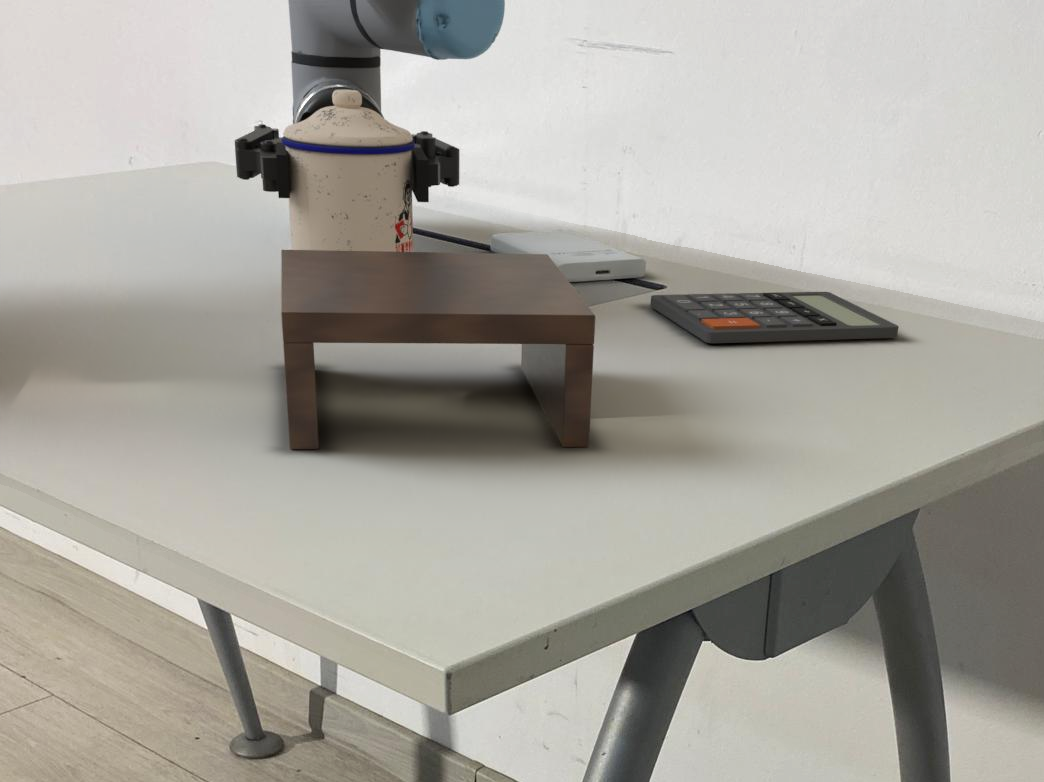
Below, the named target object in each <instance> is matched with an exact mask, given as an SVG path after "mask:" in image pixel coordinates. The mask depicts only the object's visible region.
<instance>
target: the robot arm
mask: <svg viewBox="0 0 1044 782" xmlns="http://www.w3.org/2000/svg"><path fill="white" fill-rule="evenodd" d="M505 2H506V1H505V0H287V3H288V15H289V27H290V41H291V51H290V52H291V62H290V63H291V64H290V65H291V83H292V84H291V86H292V124H295V123H299V122H301V121H303V120H306V119H307V118H309V117H310V116H311V115H313V114H314V113H315V112H316V111H318V110H319V109H321V108H324V107H329V106H335V105H334V104H333V102H332V94H333V92H334V91H335V90H356V91H359V92H360V94H361V96H362V104H361V106H360V107H364V108H368V109H371V110H373V111H375V112H377V113H378V114H379V115H381V116H382V117H383V118H384V119H385V116H384V115H383V113H382V87H381V85H382V84H381V83H382V82H381V79H382V78H381V65H382V62H381V58H382V57H381V50H385V51H393V52H397V53H404V54H410V55H414V56H415V55H416V56H421V57H427V58H431V59H433V60H437V61H439V60H440V61H441V60H442V61H444V60H470V59H471V60H472V59H475V58H478V57H479V56H481V55H483V54H485V52H487V51H488V50H489V49H490V48H491V47H492V45H493V43H495V41H496V39H497V37H498V35H499V34H500V31H501V28H502V27H503V22H504V17H505V10H506V9H505V8H506V3H505ZM253 129H254V130H252V131H250V132H249V133H246V134H245V135H242V136H240V137H238V138H237V139H234V152H235V167H236V169H235V170H236V178H238V179H241V180H244V181H245V180H247V181H248V180H250V179H253V178H255V177H258V176H259V175H260V176H261V177H260V179H261V180H262V191H264V192H267V193H276V192H277V193H278V195H277V196H278V199H289V198H290V189H289V170H288V151H287V150H286V145H284V144H283V143H282V137H283V136H280V133H279V132H280V130H279V128H273V127H271V126H268V125H266V124H264V123H260V124H258V125H254V126H253ZM410 134H411V135H412V138H413V140H412V141H413V142H414V144H415V147H414V148H413V149H412V150H411V160H412V194H413V195H414V198H415V200H416V201H417V203H429V202H430V200H429V199H430V198H429V196H430V195H429V194H430V192H429V191H430V189H429V188H432V187H434V186H441V184H443V185H446V186H447V187H449V188H450V187H451V188H453V187H457V186H460V148H458V147H456V146H453V145H452V144H449V143H447V142H445V141H443V140H440V139H438V138H437V137H433V133H432V132H428V131H426V130H422V131H420V132H417V133H410Z"/></svg>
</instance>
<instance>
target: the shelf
mask: <svg viewBox="0 0 1044 782" xmlns="http://www.w3.org/2000/svg"><path fill="white" fill-rule="evenodd" d="M280 254H281V256H280V258H281V259H280V260H281V261H280V262H281V263H280V264H281V265H280V266H281V267H280V268H281V269H280V270H281V271H280V272H281V275H280V276H281V277H280V278H281V279H280V285H281V287H280V288H281V293H280V294H281V295H280V297H281V298H280V299H281V303H280V304H281V305H280V306H281V310H280V311H281V313H280V314H281V325H282V326H281V330H282V345H283V360H284V361H283V362H284V377H285V394H286V411H287V424H288V426H287V427H288V440H289V441H288V442H289V449H290V450H319V448H320V443H319V442H320V441H319V423H318V422H319V421H318V404H317V401H318V400H317V383H316V365H315V346H314V344H445V345H446V344H447V345H448V344H452V345H453V344H457V345H461V344H462V345H463V344H464V345H467V344H468V345H469V344H470V345H474V344H475V345H476V344H477V345H478V344H479V345H482V344H483V345H521V353H520V354H521V357H520V358H521V359H520V369H521V371H522V373H523V375H524V377H525V379H526V380H527V382H528V384H529V386H530V389H531V390H532V392H533V394H534V396H535V398H536V399H537V401H538V403H539V406H540V407H541V409H542V411H543V413H544V414H545V416H546V419H547V420H548V422H549V424H550V426H551V428H552V430H553V432H554V433H555V436H556V437H557V439H558V441H559V442H560V444H561V447H562V448H588V447H589V446H590V432H591V413H592V391H593V375H594V374H593V373H594V372H593V371H594V349H595V336H596V335H595V334H596V333H595V332H596V315H595V313H594V312H593V311H592V309H591V308H590V306H588V304H587V303H586V302H585V300H584V299H583V297H582V296H581V295H580V294H579V293H578V291H577V290H576V288H575V287H574V286H573V285H572V283H571V282H569V281H568V280H567V279H566V277H565V276H564V275H563V274H562V272H561V271H560V270H559V269H558V267H557V266H556V265H555V263H554V262H553V261H552V260H551V258H550V257H549V256H548V255H547V254H498V253H494V252H492V253H491V252H490V253H489V252H488V253H487V252H436V251H433V252H432V251H413V252H384V251H327V250H292V249H281V253H280Z"/></svg>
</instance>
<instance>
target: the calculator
mask: <svg viewBox="0 0 1044 782" xmlns="http://www.w3.org/2000/svg"><path fill="white" fill-rule="evenodd" d="M649 303H650V304H649V305H650V307H651V308H652V309H653V310H656V311H657V312H658V313H660V314H661V315H663V316H665V317H666V318H668V319H669V320H670V321H672V322H674V323H675V324H677V325H678V326H679V327H681V328H683V329H685V330H686V331H687V332H689V333H691V334H692V335H694V336H695V337H697V338H698V339H700V340H701V341H703V342H704V343H707V344H738V343H764V342H765V343H767V342H769V343H770V342H799V341H801V342H802V341H827V340H828V341H831V340H832V341H834V340H865V339H891V338H892V339H893V338H898V334H899V327H900V326H899V325H898V324H895V323H894V322H892V321H890V320H888V319H885V318H883V317H881V316H879V315H877V314H875V313H873V312H871V311H869V310H866V309H865V308H863V307H861V306H859V305H857V304H855V303H853V302H850V301H848V300H846V299H844V298H842V297H840V296H838V295H836V294H834V293H832V292H830V291H796V292H795V291H791V292H790V291H787V292H786V291H784V292H783V291H782V292H736V293H733V292H731V293H729V292H727V293H687V294H683V293H681V294H680V293H679V294H652V295H650V302H649Z"/></svg>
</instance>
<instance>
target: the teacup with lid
mask: <svg viewBox="0 0 1044 782" xmlns="http://www.w3.org/2000/svg"><path fill="white" fill-rule="evenodd" d="M332 102H333V104H334V105H335V106H329V107H324V108H321V109H319V110H318V111H316V112H315V113H314V114H313V115H311V116H310V117H309V118H307V119H306V120H303V121H301V122H299V123H295V124H293V123H292V124H290V125H288V126H286V127H285V129H284V131H283V136H281V137H282V143H283V144H284V145H286V150H287V151H288V170H289V189H290V198H288V210H289V212H288V213H289V229H290V246H291V247H290V248H291V250H327V251H384V252H414V232H413V229H414V227H413V221H414V220H413V191H412V160H411V150H412V149H413V148H414V147H415V144H414V142H413V141H412V140H413V138H412V135H411V134H412V133H411V132H410V131H409V130H408V129H405V128H404V127H400V126H397V125H395V124H393V123H391V122H389V120H387V119H385V117H384V116H383V117H384V118H383V117H382V116H381V115H379V114H378V113H377V112H375V111H373V110H371V109H368V108H364V107H360V106H361V104H362V96H361V94H360V92H359V91H356V90H335V91H334V92H333V94H332Z"/></svg>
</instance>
